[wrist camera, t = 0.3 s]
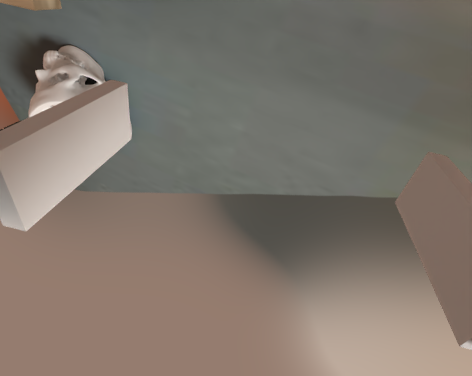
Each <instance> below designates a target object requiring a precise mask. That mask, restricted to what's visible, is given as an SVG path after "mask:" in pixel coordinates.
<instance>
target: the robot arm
mask: <svg viewBox="0 0 472 376" xmlns="http://www.w3.org/2000/svg"><path fill="white" fill-rule="evenodd" d="M130 140H131V128H130V115H129V101H128V88H127V83H124V82H119V81H115V80H109V81H106V82H104V83H102V84H100V85H98V86H96V87H94V88H91V89H89V90H87V91H85V92H83V93H81V94H79V95H76V96H74V97H72V98H70V99H68V100H66V101H64V102H61V103H59V104H57V105H55V106H53V107H51V108H49V109H46V110H44V111H42V112H40V113H38V114H36V115H34V116H31V117H29V118H27V119H25V120H23V121H19V122H16V123H14V124H12V125H10V126H7V127H5V128H4V130H3V129H1V130H0V220H1V222H2V224H3V225H4V226H7V227H12V228H15V229H19V230H22V231H27V230H28V229H29V228H30V227H32V226H33V225H34V224H35V223H36V222H37V221H38V220H40V219H41V218H42V217H43V216H44V215H45V214H46V213H48V212H49V211H50V210H51V209H52V208H53V207H54V206H56V205H57V204H58V203H59V202H60V201H61V200H62V199H64V198H65V197H66V196H67V195H68V194H69V193H70V192H72V191H73V190H74V189H75V188H76V187H77V186H78V185H80V184H81V183H82V182H83V181H84V180H85V179H86V178H88V177H89V176H90V175H91V174H92V173H93V172H94V171H96V170H97V169H98V168H99V167H100V166H101V165H102V164H104V163H105V162H106V161H107V160H108V159H109V158H110V157H112V156H113V155H114V154H115V153H116V152H117V151H118V150H120V149H121V148H122V147H123V146H124V145H125V144H126V143H128V142H129V141H130ZM395 203H396V206H397V208H398V210H399V212H400V215H401V217H402V219H403V221H404V224H405V226H406V228H407V230H408V233H409V235H410V237H411V239H412V241H413V244H414V246H415V248H416V250H417V252H418V255H419V257H420V259H421V262H422V264H423V266H424V268H425V270H426V273H427V275H428V277H429V279H430V282H431V284H432V286H433V288H434V291H435V293H436V295H437V297H438V300H439V302H440V304H441V306H442V309H443V311H444V313H445V315H446V317H447V320H448V322H449V324H450V326H451V329H452V331H453V333H454V335H455V337H456V340H457V342H458V344H459V346H460V347H463V348H467V349H471V350H472V184H471V183H470V181H469V180H468V179H467V178H466V177H465V176H464V175H463V174H462V172H461V171H460V170H459V169H458V168H457V167H456V166H455V165H454V163H453V162H452V161H451V160H450V159H449V158H448V157H447V156H444V155H440V154H436V153H431V152H428V153H427V154H426V156H425V158H424V159H423V161H422V162H421V164H420V165H419V167H418V168H417V170H416V171H415V173H414V174H413V176H412V177H411V179H410V180H409V182H408V183H407V185H406V186H405V188H404V189H403V191H402V193H401V194H400V196H399V197H398V199H397V200H396V202H395Z"/></svg>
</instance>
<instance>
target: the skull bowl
mask: <svg viewBox="0 0 472 376" xmlns="http://www.w3.org/2000/svg"><path fill="white" fill-rule="evenodd" d="M43 68H44V69H45V70H43V69H42V70H37V71H36V70H35V73H36V76H37V78H38V81H39V82H38V83H37V84H36V93H35V94H34V95H33V97H32V98H31V101H30V107H29V117H31V116H34V115H36V114H38V113H40V112H42V111H44V110H46V109H49V108H51V107H53V106H55V105H57V104H59V103H61V102H64V101H66V100H68V99H70V98H72V97H74V96H76V95H79V94H81V93H83V92H85V91H87V90H89V89H91V88H94V87H96V86H98V85H100V84H102V83H104V82H106V81H105V79H104V72H103V69H102V68H101V66H100V65H99V64H98V63H97V62H95V61H94V60H93V58H92V57H91V56H90V55H89V54H87V53H86V52H84V51H83V50H81V49H79V48H77V47H75V46H71V45H67V46H63V47H61V48H60V49H59V50H58V51H53V50H51V51H50V50H49V51H47V52H45V54H44V56H43ZM82 75H83V76H82ZM84 76H86V77H89V78H92V79H94V80H95V81H97V83H96V84H93V85H85V81H86V80H87V78H86V77H84ZM130 128H131V136H132V126H131V122H130Z"/></svg>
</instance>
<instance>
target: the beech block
mask: <svg viewBox="0 0 472 376" xmlns="http://www.w3.org/2000/svg"><path fill="white" fill-rule="evenodd" d="M0 3H5V4H9V5H13V6H18V7H22V8H26V9H31V10H50V9H62V8H61V2H60V0H0Z"/></svg>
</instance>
